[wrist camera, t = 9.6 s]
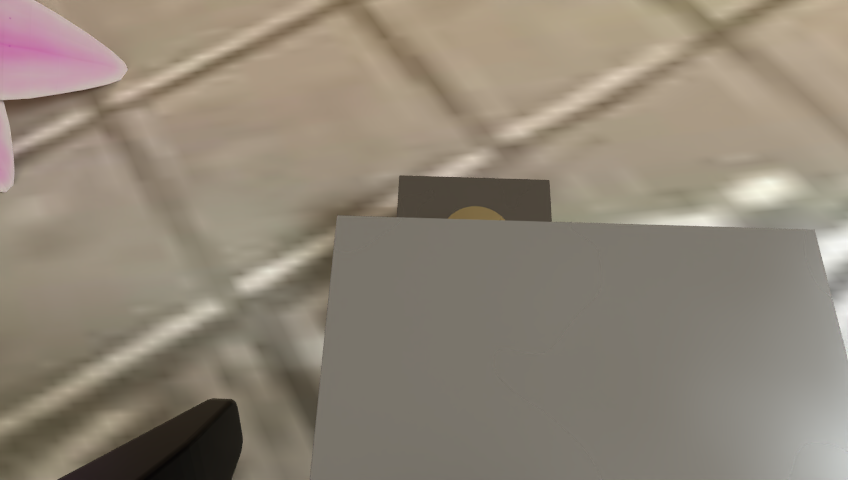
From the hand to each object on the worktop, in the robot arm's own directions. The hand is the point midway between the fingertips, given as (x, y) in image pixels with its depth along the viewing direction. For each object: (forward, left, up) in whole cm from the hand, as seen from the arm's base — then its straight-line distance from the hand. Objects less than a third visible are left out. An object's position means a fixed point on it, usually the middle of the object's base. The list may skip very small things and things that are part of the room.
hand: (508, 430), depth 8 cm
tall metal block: (0, 0, -9) cm, 9 cm away
